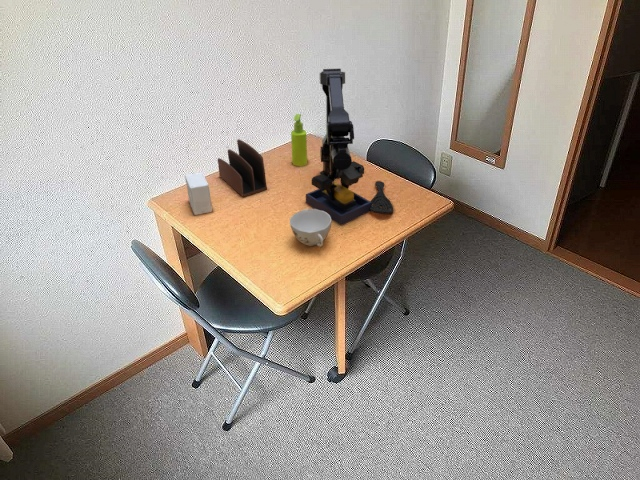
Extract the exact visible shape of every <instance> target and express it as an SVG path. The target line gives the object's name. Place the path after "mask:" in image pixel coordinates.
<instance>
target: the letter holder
mask: <svg viewBox="0 0 640 480" xmlns="http://www.w3.org/2000/svg"><path fill="white" fill-rule="evenodd" d="M236 144H237V150H238V153H237V152H236V151H234V150H232V149H230V148H229V149H227V156H228V158H227V159H228V162H227V161H226V160H224V159H222V158H220V157H218V158H217V164H218V174H219V177H220V178H221V179H222V180H223V181H224V182H226V184H228V185H229V186H230V187H231V188H232V189H233V190H234V191H235V192H237V193H238V194H239V195H240V196H241V197H242V198H245V197H249V196H252V195H255V194H258V193H260V192H263V191H266V190H267V189H268V187H267V179H266V178H267V177H266V170H265V169H266V168H265V162H264V157H263V155H262V154H261V153H260V152H258V151H257V150H256V149H255V148H254V147H252V146H251V145H250V144H248V143H247V142H245V141H243V140H241V139H240V138H238V139H237V140H236Z"/></svg>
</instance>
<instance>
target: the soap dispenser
mask: <svg viewBox="0 0 640 480" xmlns="http://www.w3.org/2000/svg"><path fill="white" fill-rule="evenodd" d="M301 117H302V114H301V113H296V114H295V115H294V117H293V121H294V122H293V130H292V131H291V132H290V139H291V158H292V165H293V166H295V167H305V166H306V165H307V164H308V142H307V131H306V130H305V129H304V123H303V122H302V121H301Z"/></svg>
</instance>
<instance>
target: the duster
mask: <svg viewBox="0 0 640 480" xmlns="http://www.w3.org/2000/svg"><path fill="white" fill-rule="evenodd" d="M334 184H335V185H336V186H337V187H336V188H335V189H334V201H332V200H331V199H330V197H329V195H328V193H327V191H326V190H324V191H322V197H323V198H325V199H327V200H328V201H330V202H332V203H333V204H335V205H337V206H338V207H340V208H342V209H343V210H346V209H348V208H351V207H353V206H355V205H356V200H354V193H355V191H352V190H351V189H350V188H348V189H347V188H345V187H344V186H342V185H341V183H338V182H336V180H335V181H334Z"/></svg>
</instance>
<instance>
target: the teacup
mask: <svg viewBox="0 0 640 480" xmlns="http://www.w3.org/2000/svg"><path fill="white" fill-rule="evenodd" d="M289 224H290V225H289V226H290V229H291V231H292V234H293V236H294V237H295V238H296V240H297V241H299V242H300V243H302V245H305V246H308V247H315V246H318V247H323V245H324V240H325V239H326V238H327V236H328V234H329V233H330V231H331V227H332V219H331V217H330V215H329V214H328V213H326V212H324V211H321V210H317V209H315V208H306V209H302V210H299V211H298V212H296V213H294V214H292V216H291V217H290V218H289Z"/></svg>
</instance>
